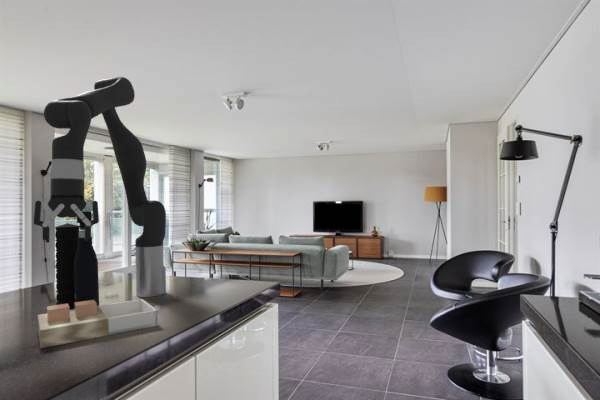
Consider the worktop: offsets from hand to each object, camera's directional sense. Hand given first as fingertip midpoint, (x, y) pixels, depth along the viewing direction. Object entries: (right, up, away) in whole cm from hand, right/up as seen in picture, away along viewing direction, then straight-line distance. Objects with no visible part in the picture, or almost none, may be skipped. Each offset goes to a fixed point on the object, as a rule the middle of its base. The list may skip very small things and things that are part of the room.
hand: (67, 241), depth 102 cm
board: (+2, -23, -2) cm, 23 cm away
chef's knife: (+16, -23, +17) cm, 33 cm away
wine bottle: (-5, -23, +19) cm, 30 cm away
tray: (+13, -23, +6) cm, 27 cm away
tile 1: (0, -19, -3) cm, 19 cm away
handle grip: (-14, -23, +25) cm, 37 cm away
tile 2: (+5, -19, 0) cm, 19 cm away
